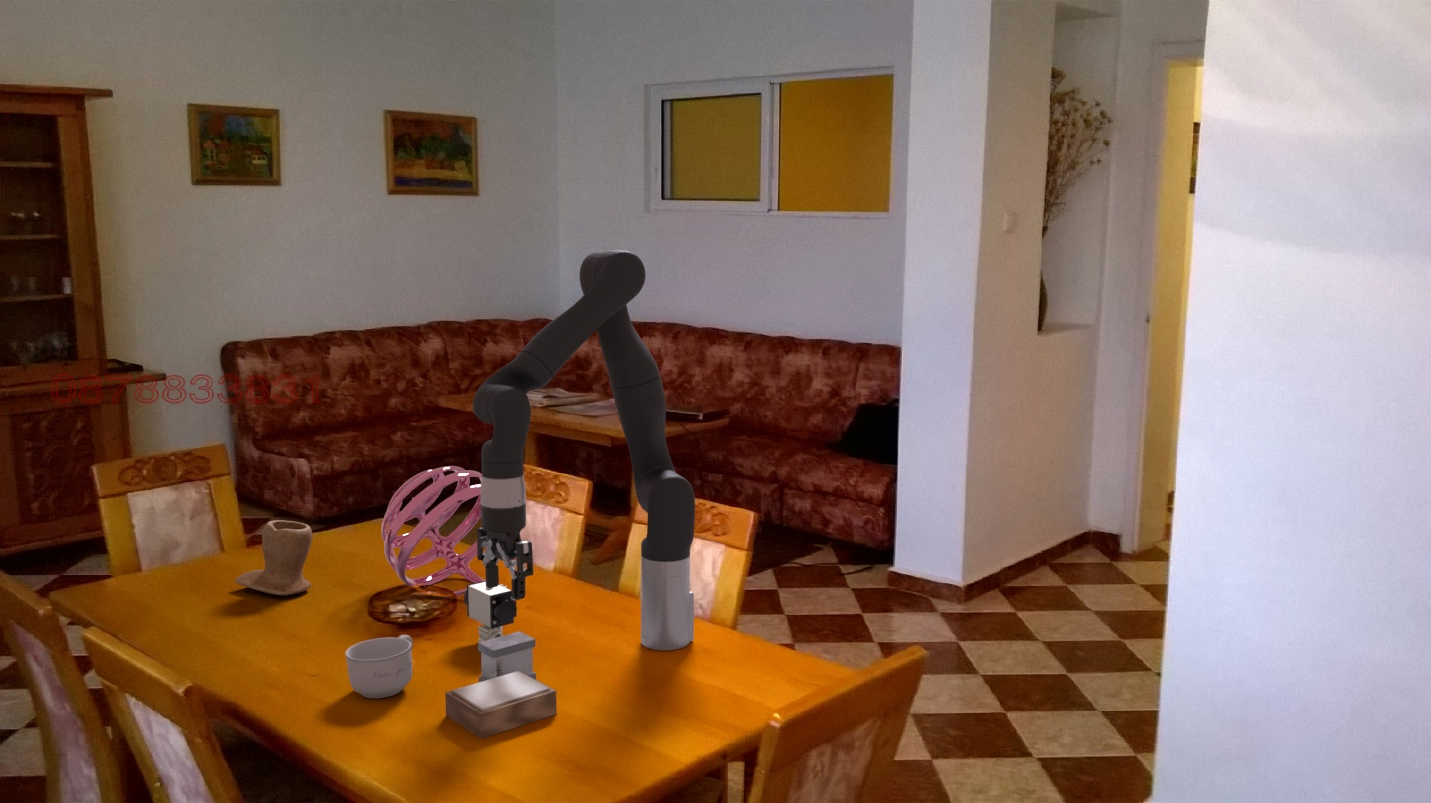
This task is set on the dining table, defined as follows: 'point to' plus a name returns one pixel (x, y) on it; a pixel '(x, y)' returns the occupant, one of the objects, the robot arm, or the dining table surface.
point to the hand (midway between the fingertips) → (505, 592)
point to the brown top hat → (281, 559)
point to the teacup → (380, 666)
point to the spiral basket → (432, 526)
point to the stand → (500, 704)
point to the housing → (507, 655)
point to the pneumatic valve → (490, 608)
